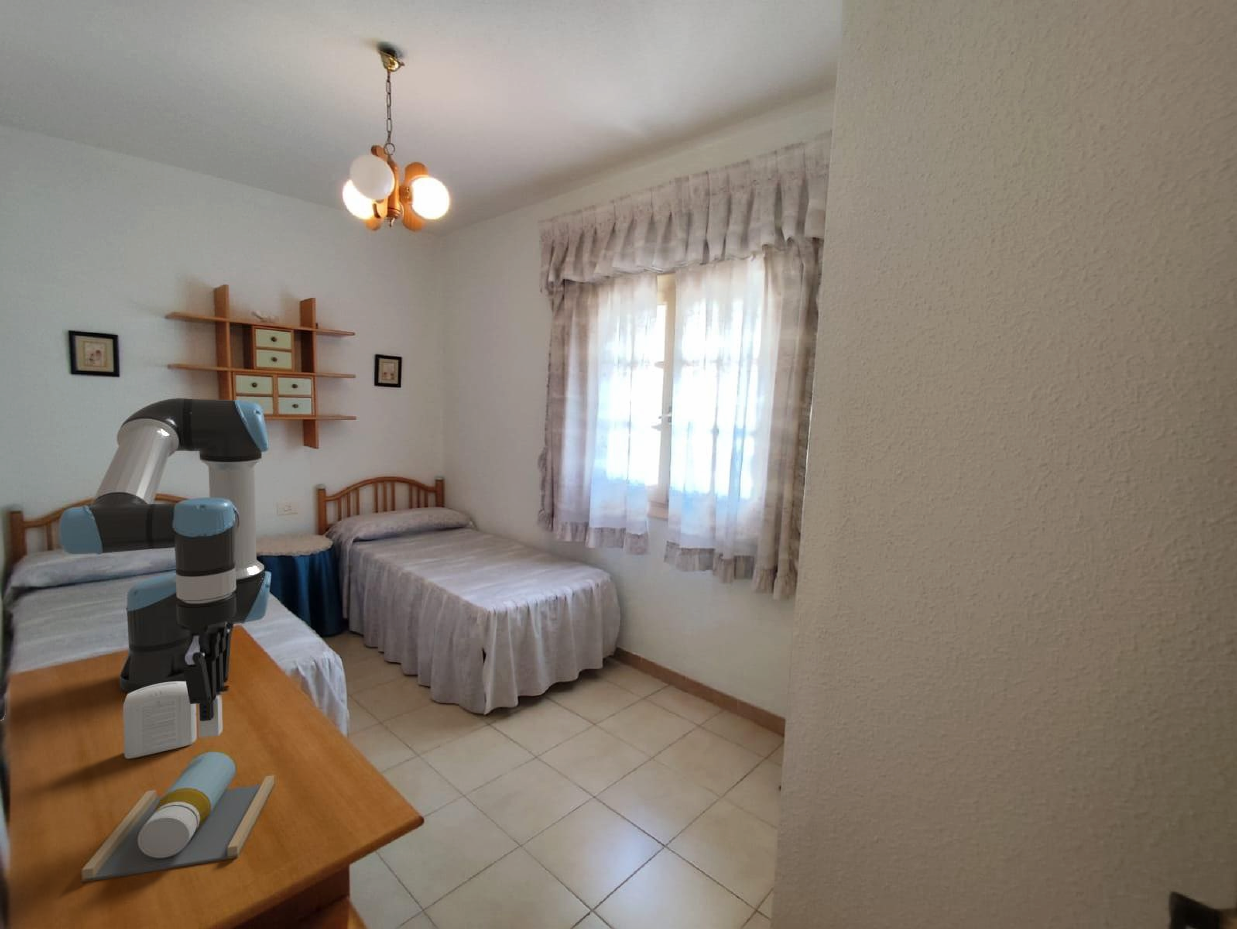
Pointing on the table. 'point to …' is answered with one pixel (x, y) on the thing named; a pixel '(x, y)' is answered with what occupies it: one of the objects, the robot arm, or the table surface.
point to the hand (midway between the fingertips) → (211, 734)
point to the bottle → (187, 804)
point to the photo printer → (158, 719)
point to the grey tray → (207, 844)
